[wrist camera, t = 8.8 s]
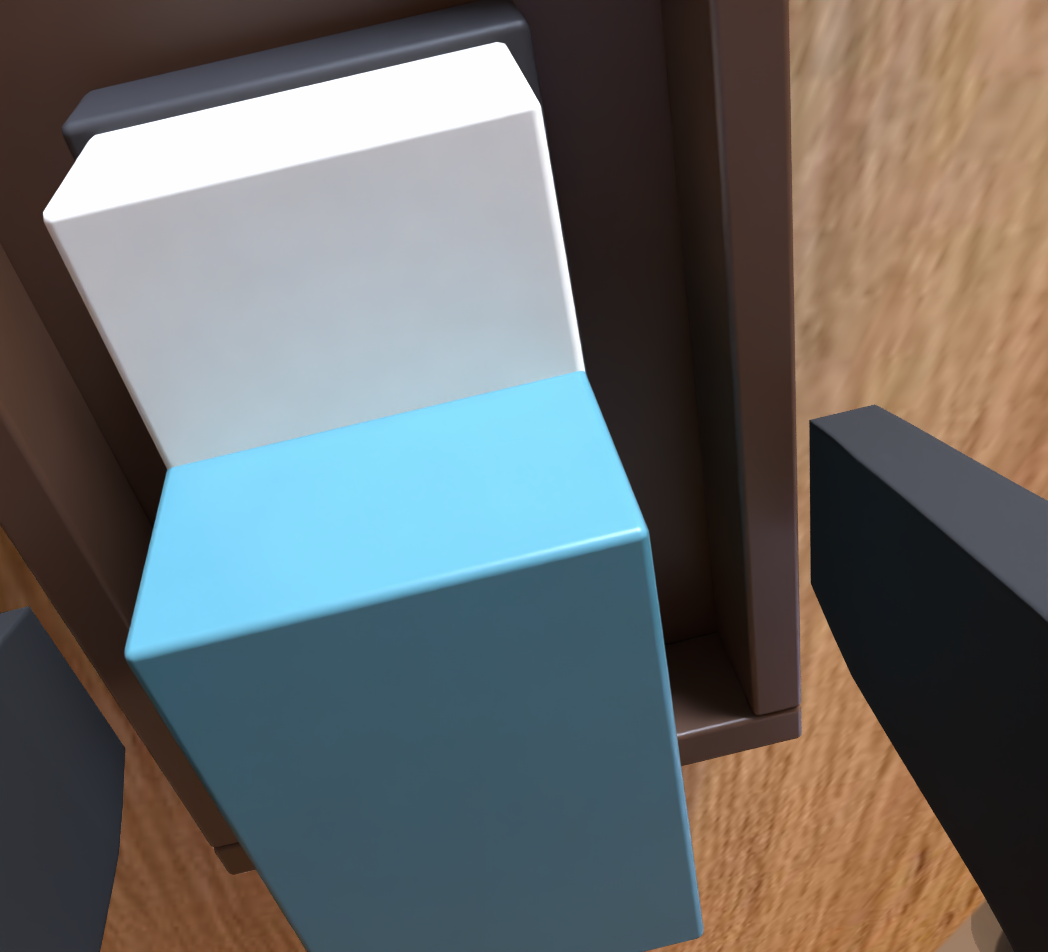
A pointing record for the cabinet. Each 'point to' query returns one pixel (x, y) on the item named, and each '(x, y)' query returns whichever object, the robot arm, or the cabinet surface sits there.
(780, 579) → the long brown tray
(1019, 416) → the cabinet surface
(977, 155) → the cabinet surface
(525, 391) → the toy truck block
